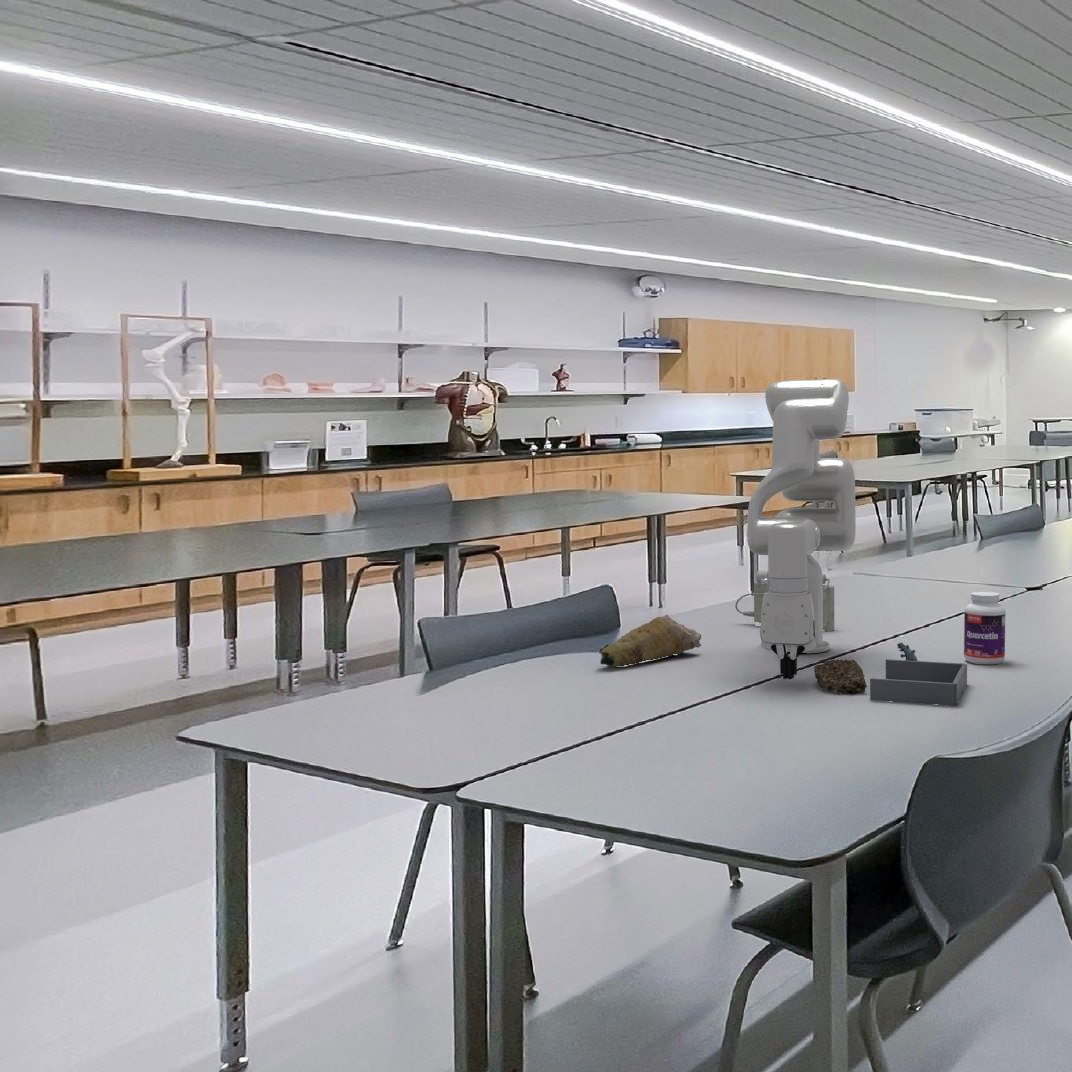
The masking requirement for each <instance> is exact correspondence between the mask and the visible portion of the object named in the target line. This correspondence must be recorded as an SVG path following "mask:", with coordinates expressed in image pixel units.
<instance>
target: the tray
mask: <svg viewBox="0 0 1072 1072" xmlns="http://www.w3.org/2000/svg"><path fill="white" fill-rule="evenodd" d="M869 686H870V687H869V700H870V701H874V702H875V701H876V702H877V701H878V702H889V701H893V702H892V703H903V702H905V703H906V704H920V705H921V704H922V705H932V704H938V705H937V706H946V705H947V706H946V707H949V706H950V707H955V706H956V707H957V705H958V704H959V702H960V700H961V698H962V697H963V693H964V692H965V689H966V687H967V686H968V663H964V662H963V663H959V662H945V661H944V662H941V661H926V660H918V661H910V660H906V659H890V658H888V659H885V678H877V677H876V678H875V677H870V678H869Z"/></svg>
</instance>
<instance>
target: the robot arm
mask: <svg viewBox="0 0 1072 1072" xmlns="http://www.w3.org/2000/svg"><path fill="white" fill-rule="evenodd" d="M764 393H765V394H764V395H765V397H764V398H765V405H766V408H767V411H768V413H769V416H770V419H771V420H772V450H771V451H772V452H771V469H770V471H769V472H768V474H767V475H766V476H764V477H763V479H762V480H760V482H759V483H758V485H757V486H756V488H755V489H754V491H753V492H752V495H751V497H750V499H749V503H748V508H747V509H748V510H747V525H746V526H747V527H746V528H747V529H746V538H747V539H746V540H747V546H748V548H749V550H750V552H752V553H753V554H755V555H758V556H767V570H768V577H767V579H762V580H761V586H765V587H767V590H768V592H765V593H764V596H763V602H762V611H761V626H760V627H759V628H760V629H759V633H760V640H761V642H760V646H761V648H764V649H768V650H772V651H773V653H774V654H775V655H776V656H777V658H778V659H779V672H780V674H781V675H782V679H783V680H793V679H794V678H795V676H796V675H797V674H798V657H799V656H800V655H801V653H807V654H818V653H819V654H820V653H824V652H827V651H829V650H830V649H831V644H830V642H828V641H826V640H824V638H823V637H824V635H823V634H824V633H823V632H824V631H823V588H822V585H823V584H822V574H823V570H822V568H821V565H820V564H819V562H818V561H817V560H816V559H815V558H814V556H812V554H814V552H818V551H819V552H827V551H828V552H840V551H848V550H850V549H851V548H852V547H853V546H854V544H855V540H856V533H857V531H856V528H857V527H856V525H857V524H856V477H855V472H854V468H853V465H852V463H851V462H850V461H849V460H847V459H845V458H841V457H823V458H822V457H821V456H820V440H832V439H833V440H836V439H839V438H841V437H842V436H843V435H844V433H845V431H846V427H847V426H846V425H847V420H848V410H849V400H850V398H849V397H850V396H849V390H848V387H847V384H846V383H845V382H844V381H843V380H841V379H837V378H827V379H790V380H780V381H776V382H773V383H771V384H769V385H768V386H767V387H766V389H765V392H764ZM780 492H781V494H782V496H783V497H784V498H785V499H786V500H788V501H792V502H811V503H812V502H817V503H818V502H828V503H831V504H833V505H834V507H792V508H790V507H789V508H786V509H783V510H781V511H780V512H778V513H777V514H776V516H775V517H763V510H764V507H765V505H766V504H767V502H768V501H769V500H770V499H771V498H772V497H774V496H776V494H779V493H780ZM787 652H790V653H787Z"/></svg>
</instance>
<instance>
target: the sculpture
mask: <svg viewBox="0 0 1072 1072" xmlns="http://www.w3.org/2000/svg"><path fill="white" fill-rule="evenodd" d="M896 645H897V649H898V651H900V652H903V654H902V653H901V654H900V658H901V659H904V658H905V660H910V661H919V660H918V658H917V656H916V654H915V653H916V650H915V649H911V648H910V646H909V645H908V644H904V643H903V642H898V643H897V644H896Z"/></svg>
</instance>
